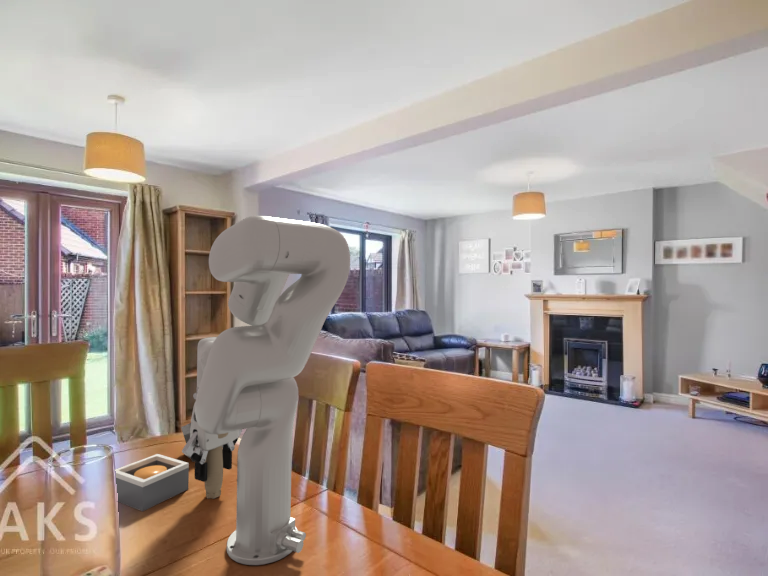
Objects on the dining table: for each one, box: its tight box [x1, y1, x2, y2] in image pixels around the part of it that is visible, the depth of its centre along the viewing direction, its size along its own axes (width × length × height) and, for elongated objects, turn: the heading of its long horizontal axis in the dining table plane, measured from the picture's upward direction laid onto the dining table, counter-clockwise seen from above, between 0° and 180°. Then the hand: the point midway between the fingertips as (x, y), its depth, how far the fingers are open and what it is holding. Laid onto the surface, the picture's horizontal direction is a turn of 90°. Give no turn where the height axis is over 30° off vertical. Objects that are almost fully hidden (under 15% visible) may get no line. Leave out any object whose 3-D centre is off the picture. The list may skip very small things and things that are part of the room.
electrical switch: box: [180, 422, 202, 462], centre depth 116 cm, size 9×5×9 cm, turn 30°
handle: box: [203, 433, 228, 500], centre depth 94 cm, size 5×6×15 cm
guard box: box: [114, 453, 190, 512], centre depth 95 cm, size 11×11×6 cm
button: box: [134, 465, 167, 479], centre depth 95 cm, size 6×6×2 cm
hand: (213, 473), depth 94 cm, fingers open, 6 cm apart
